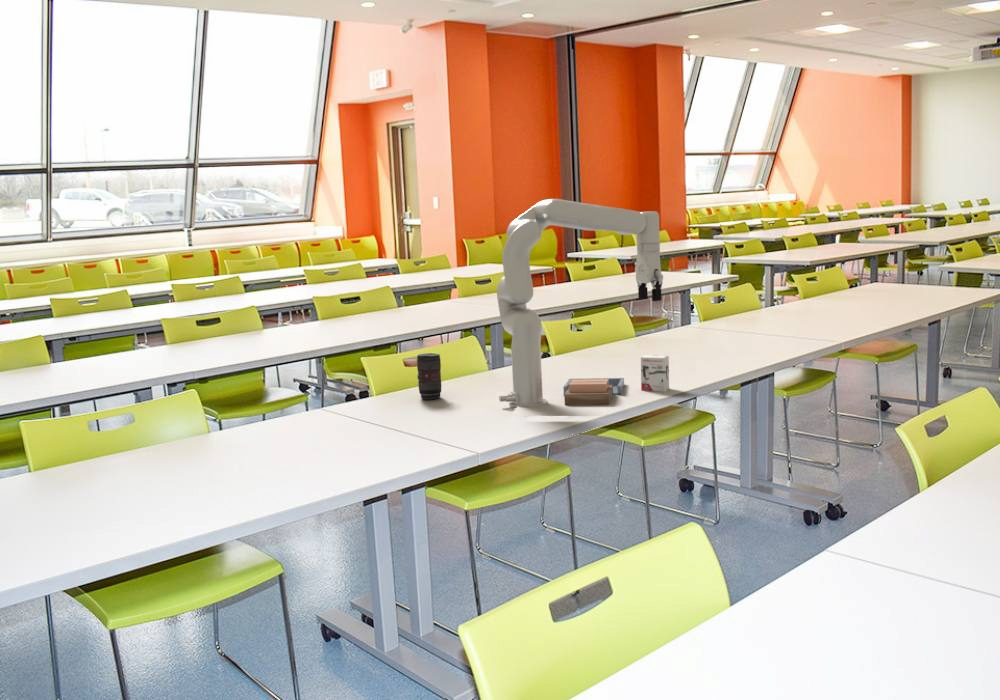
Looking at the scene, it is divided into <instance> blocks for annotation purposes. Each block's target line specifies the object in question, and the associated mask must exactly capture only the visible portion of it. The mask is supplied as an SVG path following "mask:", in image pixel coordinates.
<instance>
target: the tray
mask: <svg viewBox="0 0 1000 700" xmlns="http://www.w3.org/2000/svg"><path fill="white" fill-rule="evenodd" d="M583 379H584V378H569V379H568V380H567V382H566V383H565V384H564V385H563V395H564V394H565V393H566V391H567V390H568V388H569V383H570V382H571V381H572V380H583ZM587 379H609V385H613V396H621V395H622V392H623V389H624V387H625V378H624V377H611V378H609V377H606V378H605V377H602V378H600V377H599V378H597V377H596V378H587Z"/></svg>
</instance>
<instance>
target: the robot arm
mask: <svg viewBox="0 0 1000 700" xmlns="http://www.w3.org/2000/svg"><path fill="white" fill-rule="evenodd" d="M549 226H556V227H562V228H563V227H564V228H570V229H575V230H583V231H593V232H595V231H609V232H615V233H616V234H618V235H622V236H624V235H625V236H626V235H627V236H628V235H630V236H631V235H632V236H633V235H636V260H635V263H636V264H635V281H636V283H637V291H638V292H637V293H638V296H637V297H638V300H648V296H649V295H648V287H647V286H648V284H651V287H652V289H651V301H652V302H657V301H658V302H659V301H662V289H663V286H662V285H663V280H664V275H663V274H662V268H661V266H662V265H661V264H662V263H661V256H660V253H661V243H660V242H661V237H660V214H659V212H658V211H654V210H653V211H652V210H651V211H637V210H632V209H628V208H627V209H626V208H619V207H613V206H603V205H600V204H593V203H592V204H591V203H584V202H579V201H573V200H566V199H561V198H548V199H543V200H540V201H538V202H537V203H536V204H534V205H533V206H531V207H530V208H529V209H527V210H526V211H525V212H524V213H522V214H520V215H519V216H518V217H517V218H515V219H514V220H512V221H511V222H510V223H509V225H508V227H507V229H506V237H507V239H506V242H505V244H504V246H503V250H502V267H503V276H502V277H501V278H500V280H499V281H498V283H497V287H496V298H497V304H498V311H499V315H500V317H499V318H500V323H501V325H502V328H503V329H504V331H505V332H506V333H508V334H509V335H511V336H512V339H511V345H510V346H511V347H510V351H511V352H510V354H511V356H510V357H511V367H512V368H511V371H512V373H511V374H512V391H510V393H508V395H504V394H503V395H499V397H498V401H499V403H500V402H505V403H507V402H508V406H509V407H510V408H514V409H517V408H518V407H536V406H542V405H546V404H548V400H547V399H545V398H544V396H543V378H542V377H543V376H542V375H543V374H542V353H541V349H542V348H541V344H542V343H541V341H542V329H543V327H542V326H543V325H542V320H541V317H540V316H539V314H538V313H537V312H536V311H534V310H532V309H531V308H527V307H528V306H527V304H528V303H529V302H530V301H531V300H532V299H533V297H534V285H533V279H532V274H531V265H530V263H531V262H530V254H531V251H532V249H533V247H534V246H535V245H536V244H537V243H539V241H540V240H541V238H542V235H543V231H544V230H545V229H546V228H548V227H549Z"/></svg>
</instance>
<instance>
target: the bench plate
mask: <svg viewBox="0 0 1000 700" xmlns="http://www.w3.org/2000/svg"><path fill="white" fill-rule="evenodd" d="M613 386H614V385H609V387H608V390H607V392H569V388H568V390H567V391H566V393H565V394H564V393H563V397H564V405H565V406H598V405H599V406H608V405H610V403H611V401H612V400H613V396H614V395H613Z"/></svg>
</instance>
